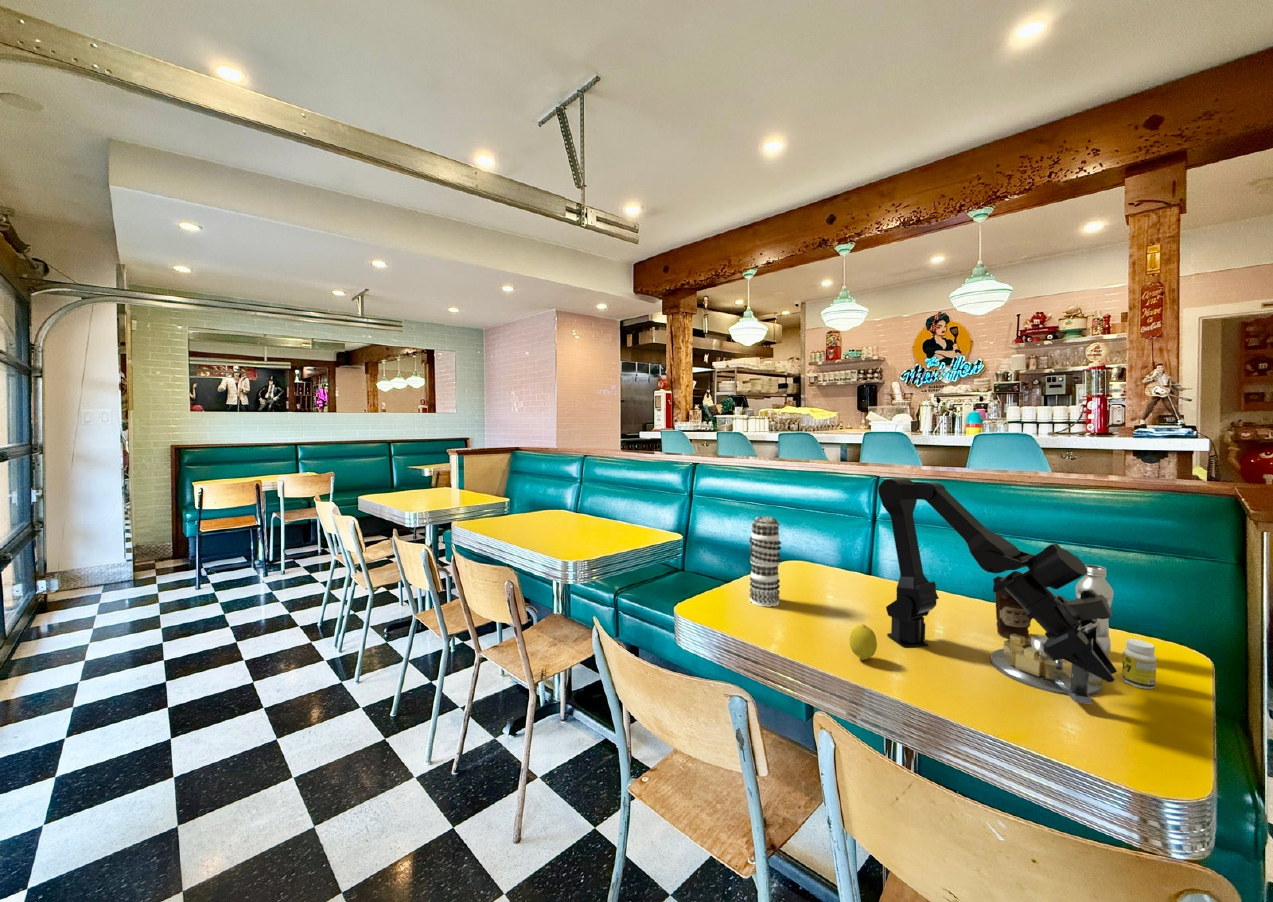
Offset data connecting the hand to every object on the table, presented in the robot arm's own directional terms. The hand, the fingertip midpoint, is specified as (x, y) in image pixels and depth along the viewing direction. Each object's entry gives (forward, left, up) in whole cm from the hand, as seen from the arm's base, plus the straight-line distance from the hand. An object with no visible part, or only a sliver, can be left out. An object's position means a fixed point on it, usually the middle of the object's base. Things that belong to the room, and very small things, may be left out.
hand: (1113, 677), depth 88 cm
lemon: (-33, +24, -7) cm, 42 cm away
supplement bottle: (+17, +9, -7) cm, 21 cm away
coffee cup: (+11, +32, -7) cm, 35 cm away
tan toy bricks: (0, +11, -6) cm, 13 cm away
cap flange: (+2, +15, -7) cm, 17 cm away
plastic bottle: (+21, +22, -7) cm, 32 cm away
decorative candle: (-42, +61, -7) cm, 75 cm away
